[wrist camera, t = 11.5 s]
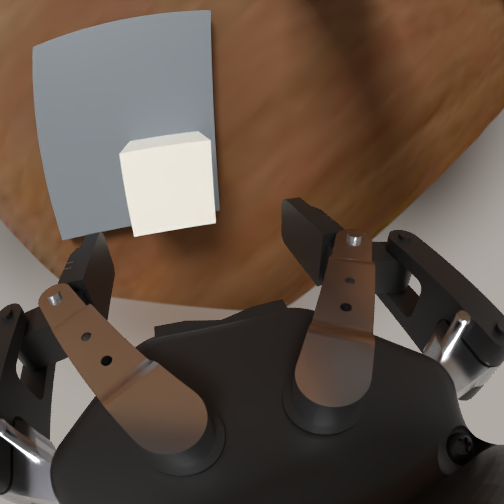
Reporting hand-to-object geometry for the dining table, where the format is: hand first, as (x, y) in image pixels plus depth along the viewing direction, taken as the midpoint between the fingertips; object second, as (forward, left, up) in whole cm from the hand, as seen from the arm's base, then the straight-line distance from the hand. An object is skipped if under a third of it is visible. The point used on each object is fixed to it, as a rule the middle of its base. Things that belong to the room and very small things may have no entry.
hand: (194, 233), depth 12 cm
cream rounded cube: (+1, 0, -12) cm, 12 cm away
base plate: (+4, -5, -14) cm, 15 cm away
